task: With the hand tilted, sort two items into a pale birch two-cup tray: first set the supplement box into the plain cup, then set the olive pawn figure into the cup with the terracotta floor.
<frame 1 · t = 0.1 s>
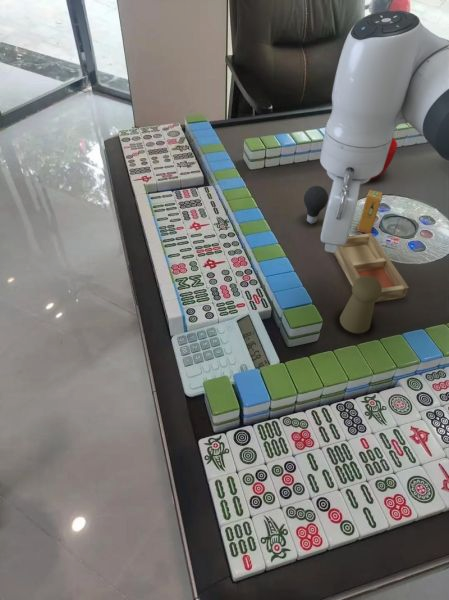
hand: (334, 230, 70), 22 cm above the table, tool pointing down, fingers open, 8 cm apart
ceramic cup: (358, 177, 121), on the table
sorting tray: (365, 271, 95), on the table
light bulb: (311, 223, 107), on the table
olive pawn figure: (354, 322, 86), on the table
supplement box: (364, 229, 105), on the table
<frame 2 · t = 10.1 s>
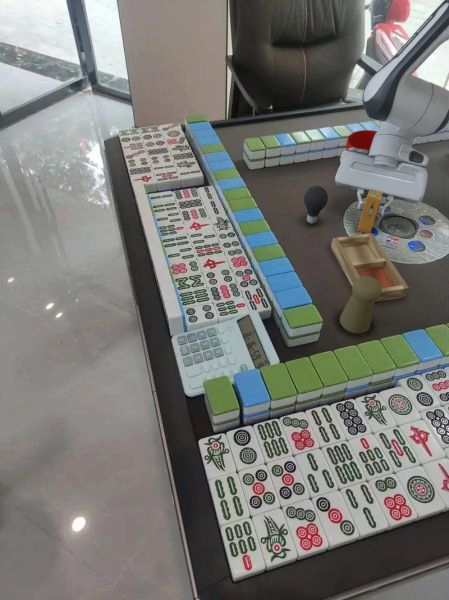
hand: (369, 212, 101), 5 cm above the table, tool tilted 45°, fingers closed on supplement box, 3 cm apart
supplement box: (364, 229, 105), on the table, touching gripper
everything else where it was.
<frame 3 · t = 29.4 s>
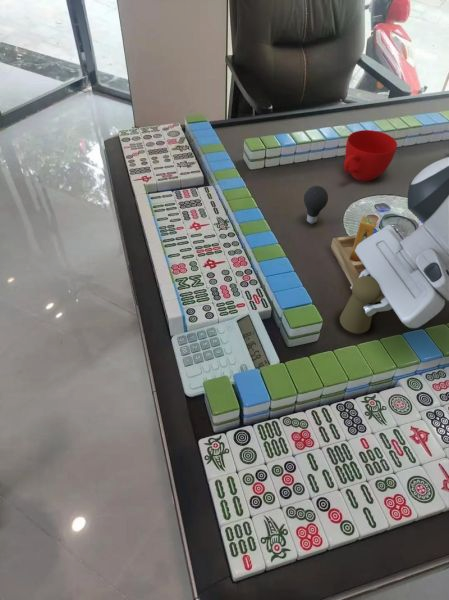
hand: (359, 302, 81), 6 cm above the table, tool tilted 45°, fingers closed on olive pawn figure, 4 cm apart
olive pawn figure: (354, 322, 86), on the table, touching gripper
supplement box: (357, 257, 98), resting on sorting tray
everything else where it was.
when the fingers open (8 cm above the table, at t = 35.8 s): olive pawn figure drops 2 cm, resting on sorting tray.
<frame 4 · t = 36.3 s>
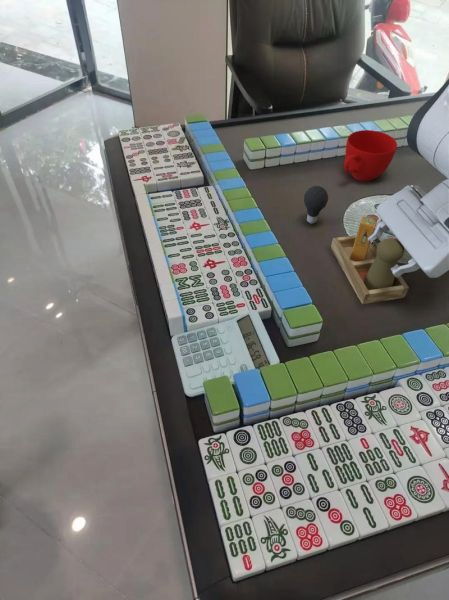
hand: (381, 257, 86), 8 cm above the table, tool tilted 45°, fingers open, 8 cm apart
olive pawn figure: (377, 284, 92), point 1 cm above the table, touching sorting tray
everything else where it was.
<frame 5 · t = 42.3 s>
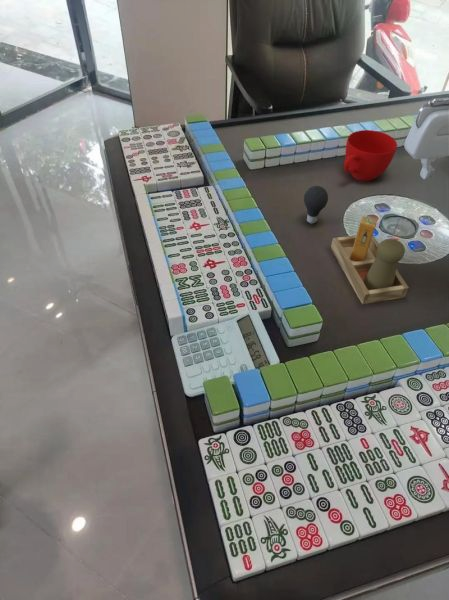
nothing on the table moved.
at the end: supplement box 0.0 cm from the target spot in the sorting tray, point 0.3 cm above the sorting tray's base; olive pawn figure 0.8 cm from the target spot in the sorting tray, point 0.5 cm above the sorting tray's base; olive pawn figure tilted 0° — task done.
